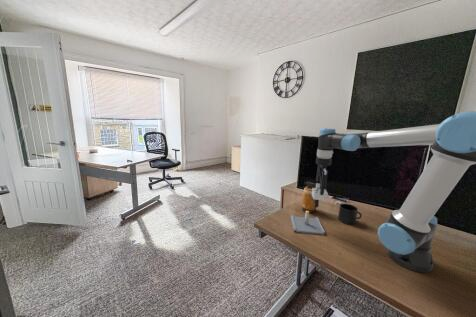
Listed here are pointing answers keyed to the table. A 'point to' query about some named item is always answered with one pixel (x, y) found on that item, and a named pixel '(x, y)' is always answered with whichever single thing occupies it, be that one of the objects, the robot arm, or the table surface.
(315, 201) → the canister
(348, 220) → the mug
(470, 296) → the table surface
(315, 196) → the square frame
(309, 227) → the keeper plate
